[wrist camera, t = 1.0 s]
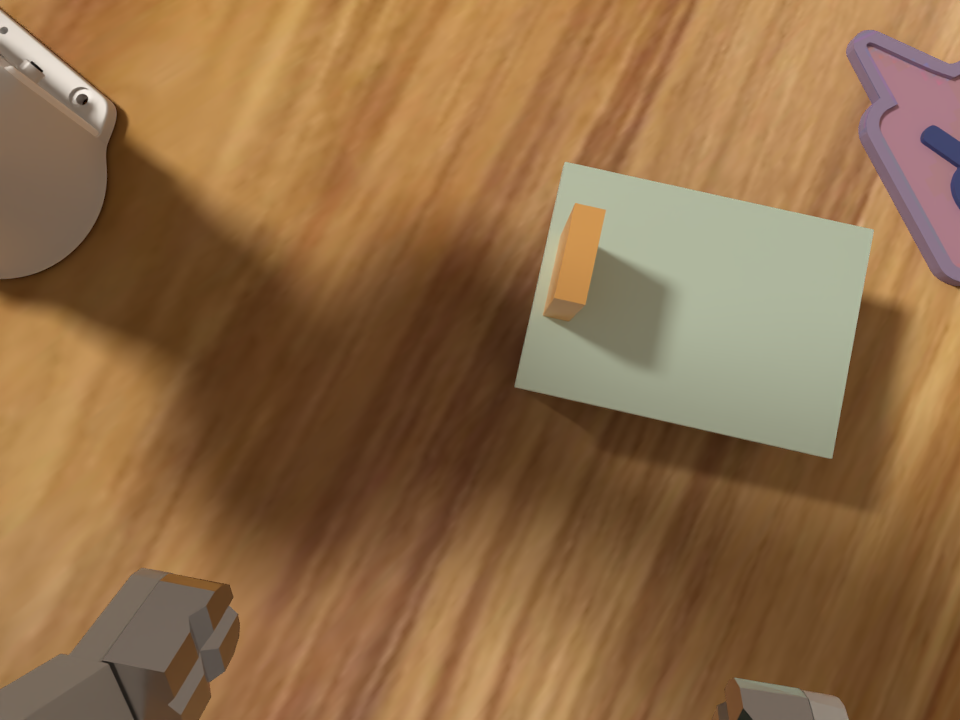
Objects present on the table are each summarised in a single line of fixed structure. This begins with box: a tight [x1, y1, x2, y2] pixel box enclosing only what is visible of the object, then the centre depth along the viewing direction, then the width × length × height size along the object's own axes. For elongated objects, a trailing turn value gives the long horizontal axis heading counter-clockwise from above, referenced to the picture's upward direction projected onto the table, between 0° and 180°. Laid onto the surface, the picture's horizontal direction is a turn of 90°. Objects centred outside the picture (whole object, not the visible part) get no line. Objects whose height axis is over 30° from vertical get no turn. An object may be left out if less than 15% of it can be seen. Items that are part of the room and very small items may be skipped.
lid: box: [514, 162, 874, 459], centre depth 37 cm, size 19×14×8 cm
